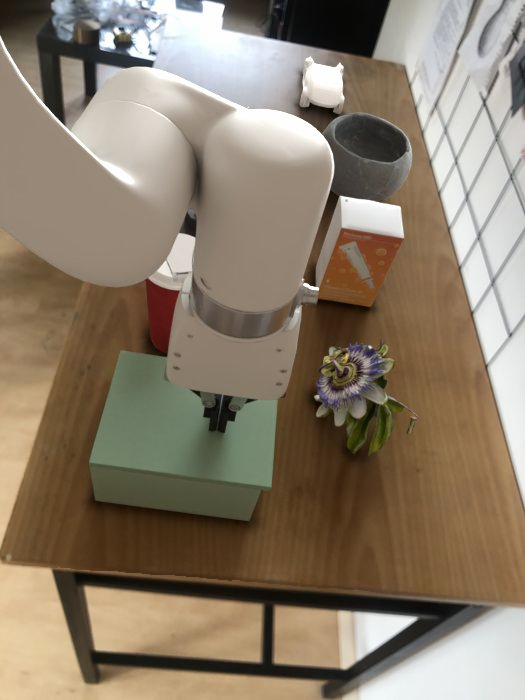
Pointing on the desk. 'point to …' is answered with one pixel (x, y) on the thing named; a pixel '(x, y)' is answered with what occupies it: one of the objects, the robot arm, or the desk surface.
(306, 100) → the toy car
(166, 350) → the paper cup
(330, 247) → the small box
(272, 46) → the desk surface
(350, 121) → the bowl
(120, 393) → the lid
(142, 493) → the box
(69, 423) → the desk surface
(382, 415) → the passion flower
